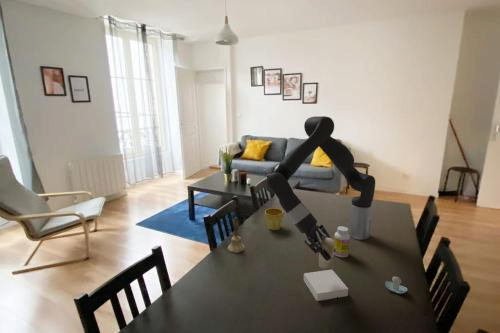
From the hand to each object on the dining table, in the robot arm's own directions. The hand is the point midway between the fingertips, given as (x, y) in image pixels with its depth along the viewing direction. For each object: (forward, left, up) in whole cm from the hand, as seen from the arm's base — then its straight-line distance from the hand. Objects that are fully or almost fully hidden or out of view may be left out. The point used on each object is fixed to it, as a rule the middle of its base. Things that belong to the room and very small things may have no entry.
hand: (331, 255), depth 101 cm
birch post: (+1, -1, -5) cm, 5 cm away
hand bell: (+29, -37, -14) cm, 49 cm away
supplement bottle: (-17, -21, -14) cm, 31 cm away
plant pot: (+5, -54, -14) cm, 56 cm away
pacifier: (-24, +6, -15) cm, 29 cm away
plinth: (+1, -1, -14) cm, 14 cm away
